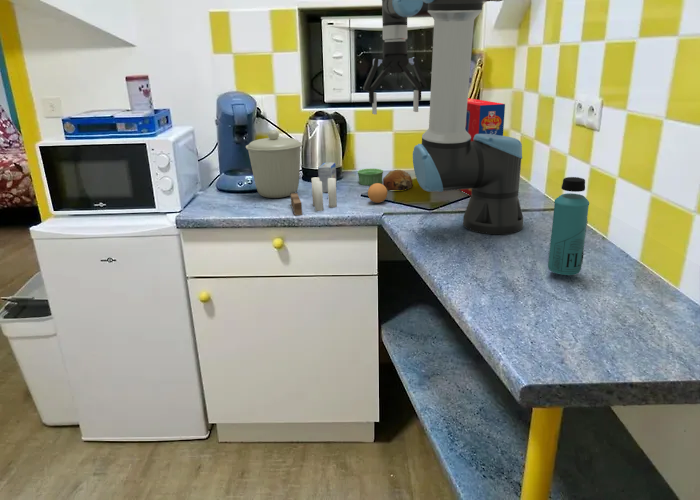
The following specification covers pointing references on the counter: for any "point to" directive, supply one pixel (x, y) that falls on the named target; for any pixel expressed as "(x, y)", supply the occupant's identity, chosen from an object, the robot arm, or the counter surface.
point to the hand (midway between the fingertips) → (395, 112)
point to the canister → (275, 165)
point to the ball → (377, 193)
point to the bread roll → (397, 180)
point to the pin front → (332, 192)
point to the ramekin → (370, 176)
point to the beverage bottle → (568, 229)
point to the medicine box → (326, 174)
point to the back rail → (296, 204)
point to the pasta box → (484, 120)
